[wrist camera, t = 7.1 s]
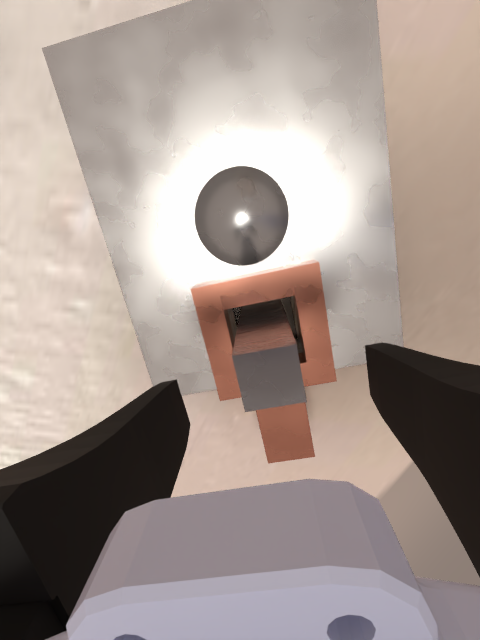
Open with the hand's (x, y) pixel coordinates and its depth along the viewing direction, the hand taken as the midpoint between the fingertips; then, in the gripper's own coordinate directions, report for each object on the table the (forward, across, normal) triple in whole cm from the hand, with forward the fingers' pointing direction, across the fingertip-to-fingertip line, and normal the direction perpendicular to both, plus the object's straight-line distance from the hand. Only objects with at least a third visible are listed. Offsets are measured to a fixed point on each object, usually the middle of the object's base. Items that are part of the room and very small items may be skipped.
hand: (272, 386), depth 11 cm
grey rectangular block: (+10, 0, 0) cm, 10 cm away
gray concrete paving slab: (+10, 0, -4) cm, 11 cm away
